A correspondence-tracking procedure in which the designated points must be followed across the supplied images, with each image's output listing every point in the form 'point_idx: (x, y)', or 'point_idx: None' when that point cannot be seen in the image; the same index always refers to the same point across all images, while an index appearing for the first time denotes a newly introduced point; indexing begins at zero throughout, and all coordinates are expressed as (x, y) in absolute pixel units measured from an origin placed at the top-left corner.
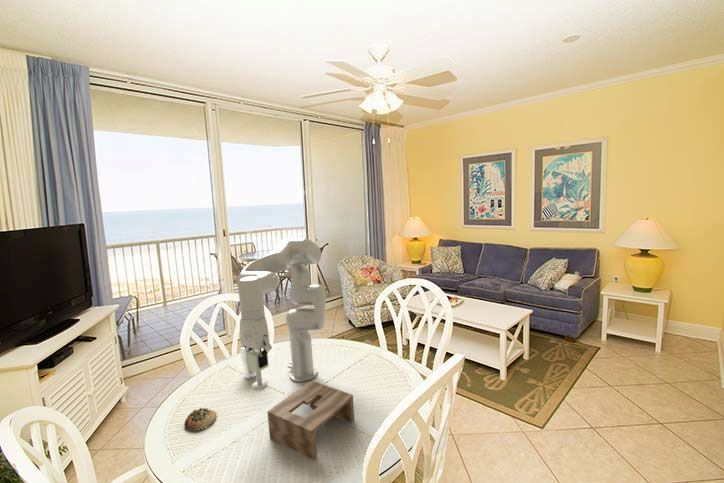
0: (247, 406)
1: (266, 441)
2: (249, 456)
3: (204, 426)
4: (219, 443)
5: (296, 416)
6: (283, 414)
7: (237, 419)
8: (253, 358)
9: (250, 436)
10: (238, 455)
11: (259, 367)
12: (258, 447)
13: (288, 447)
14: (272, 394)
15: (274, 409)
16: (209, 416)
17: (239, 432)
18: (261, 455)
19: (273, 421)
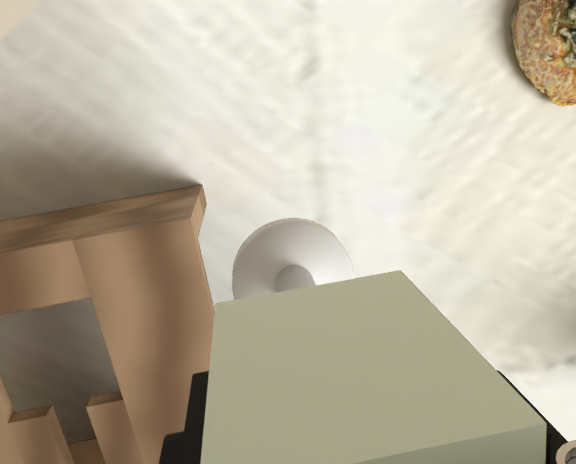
0: (482, 231)
1: (197, 164)
2: (166, 61)
3: (518, 12)
4: (357, 11)
5: (12, 302)
6: (88, 264)
7: (439, 154)
8: (269, 421)
9: (284, 134)
10: (211, 30)
11: (208, 371)
12: (189, 120)
13: (84, 206)
14: None
15: (174, 255)
16: (550, 52)
17: (349, 114)
18: (131, 101)
19: (151, 214)
